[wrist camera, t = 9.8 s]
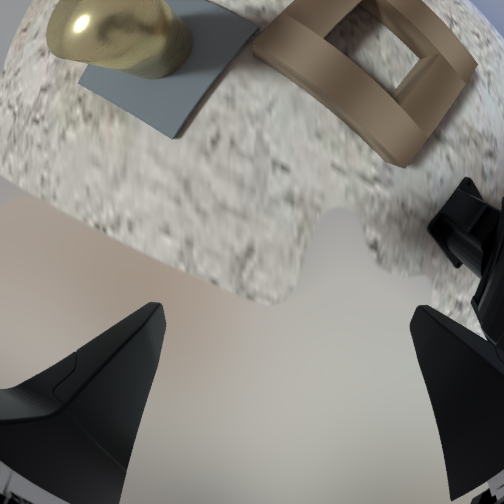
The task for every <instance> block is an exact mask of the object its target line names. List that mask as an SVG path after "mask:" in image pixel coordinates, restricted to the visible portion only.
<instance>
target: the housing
mask: <svg viewBox="0 0 504 504" xmlns="http://www.w3.org/2000/svg"><path fill="white" fill-rule="evenodd" d="M358 5H360V6H361V7H363V8H364V9H365V10H366V11H368V12H369V13H370V14H372V15H373V16H374V17H375V18H376V19H378V20H379V21H380V22H381V23H382V24H384V25H385V26H386V27H387V28H388V29H389V30H391V31H392V32H393V33H394V34H395V35H396V36H397V37H398V38H399V39H400V40H401V41H402V42H403V43H404V44H406V45H407V46H408V47H409V48H410V49H411V50H412V51H413V52H414V54H415V55H416V56H417V57H418V58H419V59H420V60H419V61H418V62H417V64H416V65H415V66H414V67H413V69H412V70H411V71H410V72H409V74H408V75H407V76H406V77H405V79H404V80H403V81H402V82H401V84H400V85H399V86H398V87H397V89H396V90H395V91H394V92H393V93H392V95H391V96H390V95H389V94H388V93H387V92H386V91H385V90H384V89H383V88H382V87H381V86H380V85H379V84H378V83H376V82H375V81H374V80H373V79H372V78H371V77H370V76H369V75H368V74H367V73H366V72H364V71H363V70H362V69H361V68H360V67H359V66H357V65H356V64H355V63H354V62H353V61H352V60H350V59H349V58H348V57H347V56H345V55H344V54H343V53H342V52H340V51H339V50H338V49H336V48H335V47H334V46H332V45H331V44H330V43H328V42H327V41H326V40H324V39H325V38H326V37H327V36H328V35H329V34H330V33H331V32H332V31H333V30H334V29H335V28H336V27H337V26H338V25H339V24H340V23H341V22H342V21H343V20H344V19H345V18H346V17H347V16H348V15H349V14H350V13H351V12H352V11H353V10H354V9H355V8H356V7H357V6H358ZM253 54H254V56H255V57H257V58H258V59H260V60H261V61H263V62H265V63H266V64H268V65H269V66H271V67H272V68H274V69H275V70H277V71H278V72H280V73H281V74H283V75H284V76H286V77H287V78H288V79H290V80H291V81H293V82H294V83H295V84H297V85H298V86H300V87H301V88H302V89H304V90H305V91H306V92H308V93H309V94H310V95H311V96H313V97H314V98H315V99H317V100H318V101H319V102H320V103H322V104H323V105H324V106H325V107H327V108H328V109H329V110H330V111H331V112H333V113H334V114H335V115H336V116H337V117H338V118H340V119H341V120H342V121H343V122H344V123H345V124H347V125H348V126H349V127H350V128H351V129H352V130H353V131H354V132H355V133H356V134H358V135H359V136H360V137H361V138H362V139H363V140H364V141H365V142H366V143H367V144H368V145H369V146H370V147H371V148H372V149H373V150H374V151H375V152H376V153H377V154H378V155H379V156H380V157H381V158H382V159H383V160H384V161H385V162H387V163H390V164H393V165H396V166H398V167H401V168H404V169H405V168H406V166H407V165H408V164H409V163H410V161H411V160H412V159H413V157H414V156H415V155H416V154H417V152H418V151H419V150H420V148H421V147H422V146H423V144H424V143H425V142H426V140H427V139H428V138H429V136H430V135H431V134H432V132H433V131H434V129H435V128H436V127H437V125H438V124H439V122H440V121H441V120H442V118H443V117H444V115H445V114H446V113H447V111H448V110H449V108H450V107H451V105H452V104H453V102H454V101H455V99H456V98H457V96H458V95H459V93H460V92H461V90H462V89H463V87H464V86H465V84H466V83H467V81H468V80H469V78H470V76H471V75H472V73H473V72H474V70H475V68H476V67H477V65H478V64H477V62H476V61H475V60H474V58H473V57H472V56H471V54H470V53H469V52H468V50H467V49H466V48H465V47H464V45H463V44H462V43H461V42H460V40H459V39H458V38H457V37H456V36H455V35H454V33H453V32H452V31H451V30H450V29H449V28H448V27H447V26H446V24H445V23H444V22H443V21H442V20H441V19H440V18H439V17H438V16H437V15H436V14H435V13H434V12H433V11H432V10H431V9H430V8H429V7H428V6H427V5H426V4H425V3H424V2H423V1H422V0H294V1H293V2H292V3H291V4H290V5H289V6H288V7H287V8H286V9H285V10H284V11H283V12H282V13H281V14H280V15H279V16H278V17H277V18H276V19H275V20H274V21H273V22H272V23H271V24H270V25H269V26H268V27H267V28H266V29H265V30H264V31H263V32H262V33H261V34H260V35H259V36H258V37H257V39H256V40H255V41H254V42H253Z"/></svg>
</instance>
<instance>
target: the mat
mask: <svg viewBox="0 0 504 504" xmlns="http://www.w3.org/2000/svg"><path fill="white" fill-rule="evenodd" d="M165 1H166V3H167V4H168V5H169V6H170V7H171V8H172V9H173V11H174V12H175V13H176V14H177V15H178V16H179V17H180V19H181V20H182V21H183V22H184V23H185V25H186V26H187V27H188V28H189V30H190V32H191V34H192V37H193V46H192V51H191V53H190V55H189V57H188V59H187V60H186V62H185V63H184V64H183V65H182V66H181V67H180V68H179V69H178V70H177V71H176V72H174V73H172V74H171V75H169V76H166V77H164V78H160V79H155V80H149V79H143V78H140V77H137V76H133V75H130V74H126V73H123V72H119V71H116V70H112V69H108V68H104V67H100V66H96V65H92V64H88V66H87V67H86V69H85V71H84V73H83V74H82V76H81V78H80V80H79V82H78V84H80V85H82V86H84V87H85V88H87V89H89V90H91V91H93V92H94V93H96V94H98V95H100V96H101V97H103V98H105V99H107V100H108V101H110V102H112V103H114V104H115V105H117V106H119V107H120V108H122V109H124V110H125V111H127V112H129V113H130V114H132V115H134V116H135V117H137V118H139V119H140V120H142V121H144V122H145V123H147V124H148V125H150V126H152V127H153V128H155V129H156V130H158V131H160V132H161V133H163V134H164V135H166V136H168V137H169V138H171V139H174V138H175V137H176V135H177V134H178V132H179V131H180V129H181V128H182V126H183V125H184V123H185V122H186V120H187V119H188V117H189V116H190V114H191V113H192V111H193V110H194V109H195V107H196V106H197V104H198V103H199V102H200V100H201V99H202V98H203V96H204V95H205V93H206V92H207V91H208V89H209V88H210V87H211V85H212V84H213V83H214V82H215V80H216V79H217V78H218V76H219V75H220V74H221V73H222V71H223V70H224V69H225V68H226V66H227V65H228V64H229V63H230V62H231V60H232V59H233V58H234V57H235V56H236V54H237V53H238V52H239V51H240V50H241V49H242V48H243V46H244V45H245V44H246V43H247V42H248V41H249V40H250V39H251V37H252V36H253V35H254V34H255V33H256V32H257V31H258V30H259V26H257V25H255V24H253V23H251V22H249V21H248V20H246V19H244V18H242V17H240V16H238V15H236V14H234V13H232V12H230V11H228V10H226V9H224V8H221V7H219V6H217V5H215V4H212V3H210V2H208V1H205V0H165Z"/></svg>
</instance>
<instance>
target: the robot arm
mask: <svg viewBox="0 0 504 504" xmlns="http://www.w3.org/2000/svg"><path fill="white" fill-rule="evenodd" d="M467 182H468V184H467ZM501 204H502V209H501V210H500V209H498V208H496V207H494V206H492V205H490V204H488V203H487V202H485V201H483V199H482V197H481V195H480V193H479V192H478V190H477V188H476V186H475V185H474V183H473V181H472V179H471V178H468V177H465V178H464V179H463V180H462V182H461V183H460V184H459V186H458V187H457V189H456V190H455V191H454V193H453V194H452V196H451V197H450V198H449V200H448V201H447V202H446V204H445V205H444V206H443V207H442V209H441V210H440V211H439V213H438V214H437V215H436V216H435V218H434V219H433V220H432V221H431V223H430V224H429V225H428V228H427V230H428V232H429V234H430V235H431V236H432V237H433V239H434V240H435V241H436V243H437V244H438V245H439V247H440V248H441V249H442V251H443V252H444V253H445V255H446V256H447V257H448V259H449V260H450V262H451V263H452V264H453V266H454V267H455V268H459V267H461V265H462V264H465V265H466V266H467V267H468V268H469V269H470V270H471V271H472V272H473V273H474V274H476V275H477V276H478V277H479V278H480V279H481V280H480V283H479V285H478V288H477V290H476V293H475V295H474V296H473V297H472V300H471V305H472V307H473V309H474V311H475V313H476V316H477V318H478V320H479V323H480V325H481V329H482V331H483V333H484V335H485V337H486V339H487V340H488V341H487V340H485V339H483V338H482V337H480V336H479V335H477V334H475V333H474V332H472V331H470V330H469V329H467V328H466V327H464V326H462V325H461V324H459V323H457V322H456V321H454V320H452V319H451V318H449V317H447V316H445V315H444V314H442V313H440V312H439V311H437V310H435V309H433V308H432V307H430V306H428V305H419V306H418V307H417V308H416V310H415V312H414V315H413V317H412V319H411V322H410V332H411V335H412V339H413V343H414V347H415V351H416V355H417V359H418V362H419V365H420V369H421V371H422V375H423V378H424V380H425V384H426V387H427V391H428V394H429V397H430V401H431V404H432V408H433V411H434V415H435V419H436V423H437V427H438V430H439V435H440V440H441V444H442V449H443V454H444V459H445V465H446V471H447V478H448V485H449V492H450V499H451V501H453V500H455V499H457V498H459V497H461V496H463V495H465V494H466V493H468V492H470V491H472V490H473V489H475V488H477V487H478V486H480V485H482V484H483V483H485V482H486V481H487V482H488V485H489V488H488V489H487V490H486V491H484V492H482V493H481V494H479V495H478V496H476V497H475V498H473V499H472V501H471V504H504V197H503V198H502V203H501ZM433 227H434V229H433V230H432V228H433ZM165 330H166V320H165V315H164V310H163V306H162V304H161V303H158V302H149V303H147V304H146V305H144V306H143V307H141V308H140V309H138V310H137V311H135V312H134V313H132V314H131V315H129V316H127V317H126V318H125V319H123V320H121V321H120V322H119V323H117V324H115V325H114V326H112V327H111V328H109V329H108V330H106V331H105V332H103V333H102V334H100V335H99V336H97V337H96V338H94V339H93V340H91V341H90V342H88V343H87V344H85V345H84V346H82V347H81V348H79V349H78V350H77V351H76V352H73V353H72V354H70V355H69V356H67V357H66V358H64V359H62V360H61V361H59V362H58V363H56V364H55V365H53V366H51V367H49V368H48V369H46V370H44V371H43V372H41V373H39V374H37V375H35V376H34V377H32V378H30V379H28V380H26V381H24V382H22V383H21V384H19V385H17V386H15V387H12V388H8V389H0V504H119V502H120V497H121V493H122V488H123V485H124V480H125V477H126V472H127V468H128V464H129V460H130V456H131V453H132V449H133V445H134V442H135V438H136V435H137V431H138V428H139V425H140V421H141V418H142V414H143V411H144V408H145V404H146V401H147V398H148V395H149V392H150V389H151V386H152V382H153V379H154V376H155V373H156V370H157V367H158V363H159V358H160V353H161V349H162V343H163V339H164V334H165Z"/></svg>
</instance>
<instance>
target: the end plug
mask: <svg viewBox="0 0 504 504" xmlns="http://www.w3.org/2000/svg"><path fill="white" fill-rule="evenodd" d="M46 38H47V45H48V47H49V49H50V51H51V52H52V53H53V54H54V55H55V56H57V57H59V58H62V59H68V60H73V61H78V62H83V63H87V64H92V65H96V66H100V67H104V68H108V69H112V70H116V71H119V72H123V73H126V74H130V75H133V76H137V77H140V78H143V79H149V80H155V79H160V78H164V77H166V76H169V75H171V74H172V73H174V72H176V71H177V70H178V69H179V68H180V67H181V66H182V65H183V64H184V63H185V62H186V60H187V59H188V57H189V55H190V53H191V51H192V46H193V37H192V34H191V32H190V30H189V28H188V27H187V26H186V25H185V23H184V22H183V21H182V20H181V19H180V17H179V16H178V15H177V14H176V13H175V12H174V11H173V9H172V8H171V7H170V6H169V5H168V4H167V3H166V1H165V0H60V1H59V2H58V4H57V5H56V7H55V9H54V10H53V12H52V15H51V17H50V19H49V23H48V27H47V34H46Z"/></svg>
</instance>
